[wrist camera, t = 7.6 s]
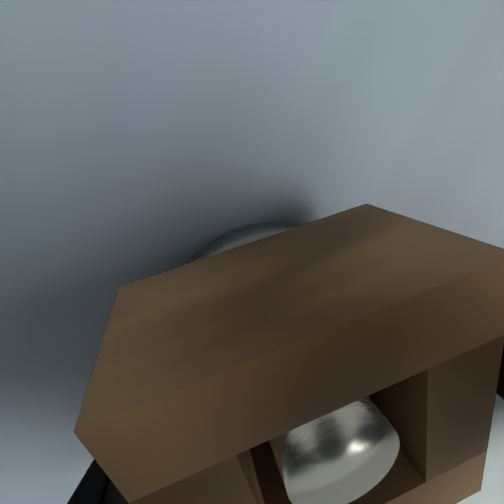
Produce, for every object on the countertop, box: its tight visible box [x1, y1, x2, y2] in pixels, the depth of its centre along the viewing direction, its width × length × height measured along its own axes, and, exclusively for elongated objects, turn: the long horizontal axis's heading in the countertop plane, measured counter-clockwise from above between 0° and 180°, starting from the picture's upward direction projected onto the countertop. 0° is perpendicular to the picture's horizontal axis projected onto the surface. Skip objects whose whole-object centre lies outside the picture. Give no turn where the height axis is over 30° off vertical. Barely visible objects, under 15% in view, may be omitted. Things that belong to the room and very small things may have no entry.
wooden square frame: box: [74, 204, 504, 504], centre depth 7 cm, size 7×7×4 cm
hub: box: [186, 223, 400, 504], centre depth 8 cm, size 7×7×5 cm
